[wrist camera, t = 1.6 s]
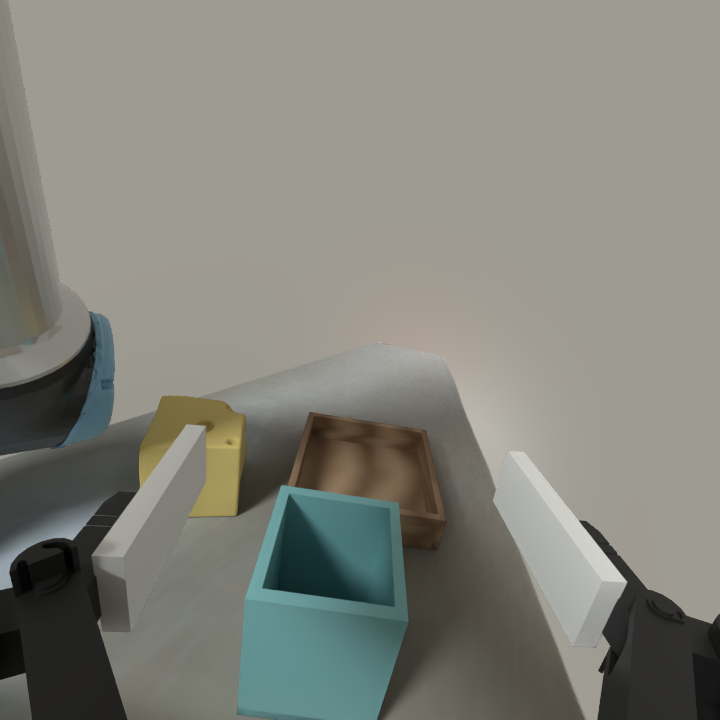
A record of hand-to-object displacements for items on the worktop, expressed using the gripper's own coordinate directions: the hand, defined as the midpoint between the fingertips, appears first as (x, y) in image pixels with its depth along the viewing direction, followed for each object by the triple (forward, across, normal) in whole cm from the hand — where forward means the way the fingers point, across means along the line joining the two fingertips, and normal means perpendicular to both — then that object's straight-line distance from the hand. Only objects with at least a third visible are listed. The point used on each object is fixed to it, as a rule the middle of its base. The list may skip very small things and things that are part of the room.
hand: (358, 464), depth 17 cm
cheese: (+26, -16, -23) cm, 38 cm away
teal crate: (+8, 0, -25) cm, 26 cm away
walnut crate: (+29, +5, -24) cm, 38 cm away
